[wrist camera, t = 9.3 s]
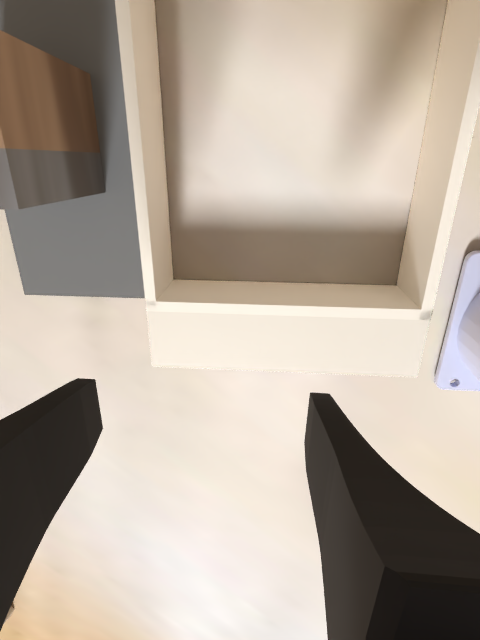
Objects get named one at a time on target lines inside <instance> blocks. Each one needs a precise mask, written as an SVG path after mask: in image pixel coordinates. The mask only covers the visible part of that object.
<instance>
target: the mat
mask: <svg viewBox="0 0 480 640" xmlns="http://www.w3.org/2000/svg"><path fill="white" fill-rule="evenodd" d="M0 30H1V31H3V32H5V33H7V34H9V35H11V36H13V37H16V38H18V39H20V40H22V41H24V42H26V43H28V44H30V45H32V46H34V47H36V48H38V49H40V50H42V51H44V52H46V53H48V54H50V55H52V56H54V57H56V58H59V59H61V60H63V61H65V62H67V63H69V64H71V65H73V66H75V67H77V68H79V69H81V70H83V71H85V72H87V73H89V74H90V78H91V85H92V93H93V101H94V108H95V116H96V124H97V131H98V139H99V147H100V154H101V162H102V170H103V177H104V185H105V193H101V194H95V195H90V196H85V197H80V198H75V199H70V200H65V201H60V202H55V203H49V204H44V205H39V206H34V207H29V208H24V209H19V210H18V209H5V213H6V218H7V222H8V226H9V230H10V234H11V239H12V243H13V247H14V251H15V256H16V260H17V264H18V268H19V273H20V277H21V281H22V285H23V289H24V294H25V295H55V296H89V297H122V298H145V294H144V284H143V274H142V264H141V254H140V244H139V235H138V225H137V215H136V205H135V195H134V185H133V175H132V165H131V155H130V146H129V136H128V126H127V116H126V106H125V96H124V86H123V76H122V67H121V57H120V47H119V37H118V27H117V17H116V7H115V0H0Z"/></svg>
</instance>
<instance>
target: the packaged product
mask: <svg viewBox="0 0 480 640" xmlns="http://www.w3.org/2000/svg"><path fill="white" fill-rule="evenodd" d="M13 611H14V608H13V607H12V606H11V607H10V609H9V612H8V614H7V617H6V619H5V621H4V623H5V622H6V621H7V620H8V618H9V617H10V616H11V615H12V613H13Z"/></svg>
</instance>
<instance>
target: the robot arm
mask: <svg viewBox="0 0 480 640" xmlns="http://www.w3.org/2000/svg"><path fill="white" fill-rule="evenodd" d="M453 379H456V381H455V382H454V383H450V382H451V381H452V380H453ZM434 382H435V384H436V385H437V387H438V388H440V389H443V390H466V391H480V251H478V250H477V251H472V252H470V253H468V254H467V256H466V257H465V259H464V262H463V266H462V270H461V274H460V278H459V282H458V286H457V290H456V294H455V298H454V302H453V306H452V310H451V314H450V318H449V322H448V326H447V330H446V334H445V338H444V342H443V346H442V350H441V354H440V358H439V362H438V366H437V370H436V374H435V378H434ZM102 429H103V426H102V420H101V414H100V407H99V401H98V394H97V388H96V382H95V379H79V378H78V379H75V380H73V381H71V382H69V383H67V384H65V385H63V386H62V387H60V388H58V389H56V390H54V391H53V392H51V393H49V394H47V395H46V396H44V397H42V398H40V399H38V400H37V401H35V402H33V403H31V404H29V405H28V406H26V407H24V408H22V409H21V410H19V411H17V412H15V413H13V414H11V415H9V416H7V417H5V418H3V419H1V420H0V631H1V628H2V626H3V624H4V621H5V619H6V617H7V614H8V612H9V609H10V607H11V605H12V602H13V600H14V598H15V595H16V593H17V591H18V589H19V587H20V584H21V582H22V580H23V578H24V576H25V573H26V571H27V569H28V567H29V565H30V562H31V560H32V558H33V556H34V554H35V552H36V550H37V548H38V546H39V544H40V542H41V540H42V538H43V536H44V534H45V532H46V530H47V528H48V526H49V524H50V523H51V521H52V519H53V517H54V515H55V514H56V512H57V511H58V509H59V507H60V506H61V504H62V502H63V501H64V499H65V498H66V496H67V494H68V493H69V491H70V489H71V488H72V486H73V485H74V483H75V481H76V480H77V478H78V476H79V475H80V473H81V471H82V470H83V468H84V466H85V465H86V463H87V461H88V460H89V458H90V456H91V454H92V452H93V450H94V448H95V446H96V443H97V441H98V439H99V436H100V434H101V431H102ZM304 443H305V460H306V472H307V478H308V484H309V489H310V495H311V500H312V506H313V511H314V516H315V522H316V527H317V533H318V538H319V545H320V552H321V562H322V573H323V584H324V596H325V608H326V621H327V634H328V640H480V534H479V533H478V532H476V531H474V530H473V529H471V528H470V527H468V526H467V525H465V524H464V523H462V522H461V521H459V520H458V519H456V518H455V517H453V516H452V515H451V514H449V513H448V512H446V511H445V510H444V509H442V508H441V507H439V506H438V505H437V504H435V503H434V502H433V501H431V500H430V499H429V498H428V497H426V496H425V495H424V494H422V493H421V492H420V491H419V490H417V489H416V488H415V487H414V486H412V485H411V484H410V483H409V482H408V481H406V480H405V479H404V478H403V477H402V476H401V475H400V474H399V473H398V472H396V471H395V470H394V469H393V468H392V467H391V466H390V465H389V464H388V463H387V462H386V461H385V460H384V459H383V458H382V457H381V456H380V455H379V454H378V453H377V452H376V451H375V450H374V449H373V448H372V447H371V446H370V445H369V443H368V442H367V441H366V440H365V439H364V438H363V436H362V435H361V434H360V433H359V432H358V431H357V429H356V428H355V427H354V426H353V424H352V423H351V422H350V421H349V419H348V418H347V417H346V415H345V414H344V413H343V411H342V410H341V409H340V407H339V406H338V405H337V403H336V402H335V401H334V399H333V398H332V397H331V395H330V394H325V393H310V398H309V407H308V415H307V424H306V433H305V442H304Z"/></svg>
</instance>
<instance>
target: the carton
mask: <svg viewBox="0 0 480 640" xmlns="http://www.w3.org/2000/svg"><path fill="white" fill-rule="evenodd" d="M115 7H116V17H117V27H118V37H119V47H120V57H121V67H122V76H123V86H124V96H125V106H126V116H127V126H128V136H129V146H130V155H131V165H132V175H133V185H134V195H135V205H136V215H137V225H138V235H139V244H140V254H141V264H142V274H143V284H144V294H145V304H146V314H147V323H148V333H149V343H150V353H151V363H152V367H173V368H197V369H221V370H246V371H270V372H294V373H318V374H342V375H367V376H391V377H415V378H418V373H419V369H420V364H421V360H422V356H423V351H424V347H425V342H426V338H427V334H428V329H429V325H430V321H431V316H432V312H433V307H434V303H435V299H436V294H437V290H438V285H439V281H440V277H441V272H442V268H443V264H444V259H445V255H446V250H447V246H448V242H449V237H450V233H451V229H452V224H453V220H454V215H455V211H456V207H457V202H458V198H459V193H460V189H461V185H462V180H463V176H464V172H465V167H466V163H467V158H468V154H469V150H470V145H471V141H472V137H473V132H474V128H475V123H476V119H477V115H478V110H479V106H480V0H448V3H447V8H446V14H445V19H444V25H443V30H442V36H441V41H440V47H439V52H438V58H437V63H436V69H435V75H434V80H433V86H432V91H431V97H430V102H429V108H428V113H427V119H426V124H425V130H424V135H423V141H422V146H421V152H420V157H419V163H418V168H417V174H416V179H415V185H414V191H413V196H412V202H411V207H410V213H409V218H408V224H407V229H406V235H405V240H404V246H403V251H402V257H401V262H400V268H399V273H398V279H397V284H396V285H363V284H326V283H288V282H250V281H213V280H175V279H173V265H172V251H171V236H170V221H169V206H168V191H167V177H166V162H165V147H164V132H163V117H162V102H161V88H160V73H159V58H158V43H157V28H156V14H155V0H115Z"/></svg>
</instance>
